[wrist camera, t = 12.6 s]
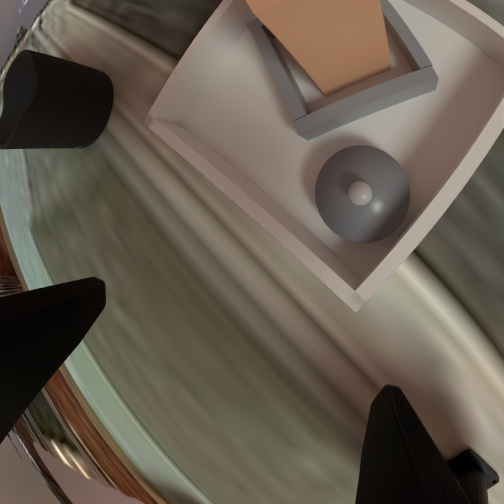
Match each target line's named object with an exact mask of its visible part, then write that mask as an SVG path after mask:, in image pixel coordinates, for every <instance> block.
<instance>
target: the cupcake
mask: <svg viewBox="0 0 504 504" xmlns="http://www.w3.org/2000/svg"><path fill="white" fill-rule="evenodd" d="M21 292H23V288H22V286H21V284H20V283H19V281H18V279H17V278H16V277H15V276H0V297H3V296H7V295H12V294H16V293H21Z"/></svg>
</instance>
